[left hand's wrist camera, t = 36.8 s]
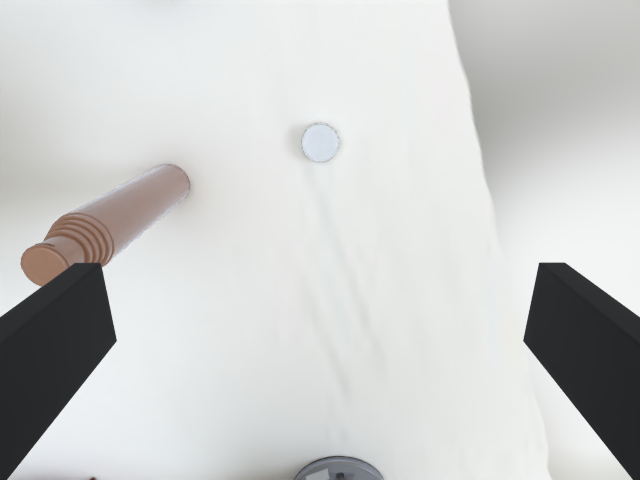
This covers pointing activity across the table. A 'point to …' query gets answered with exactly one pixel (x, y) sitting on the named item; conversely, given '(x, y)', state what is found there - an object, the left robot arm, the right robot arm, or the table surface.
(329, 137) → the cap
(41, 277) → the bottle
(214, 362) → the table surface
